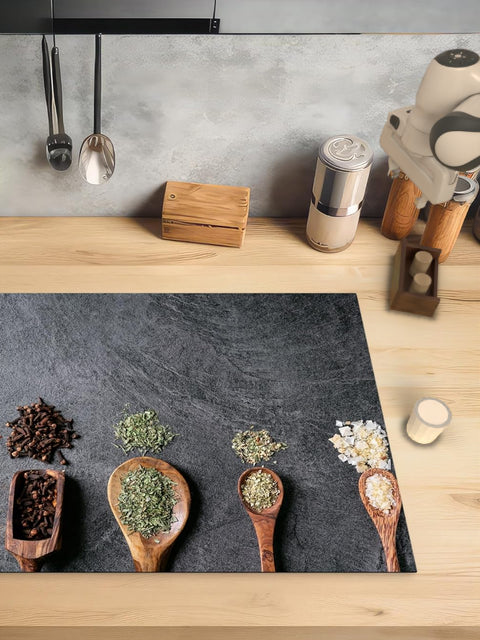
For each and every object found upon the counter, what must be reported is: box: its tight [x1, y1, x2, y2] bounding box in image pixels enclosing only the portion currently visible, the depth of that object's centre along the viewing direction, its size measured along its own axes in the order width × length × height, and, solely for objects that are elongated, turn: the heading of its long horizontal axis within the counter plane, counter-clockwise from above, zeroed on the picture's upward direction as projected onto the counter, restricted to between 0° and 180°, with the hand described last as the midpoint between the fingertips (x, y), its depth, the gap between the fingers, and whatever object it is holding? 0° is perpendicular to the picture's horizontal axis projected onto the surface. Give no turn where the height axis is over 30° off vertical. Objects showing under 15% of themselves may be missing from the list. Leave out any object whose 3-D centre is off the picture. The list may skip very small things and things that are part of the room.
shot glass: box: [406, 396, 453, 445], centre depth 139 cm, size 7×7×7 cm
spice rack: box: [389, 236, 443, 318], centre depth 161 cm, size 9×16×7 cm, turn 164°
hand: (405, 191), depth 148 cm, fingers open, 8 cm apart
